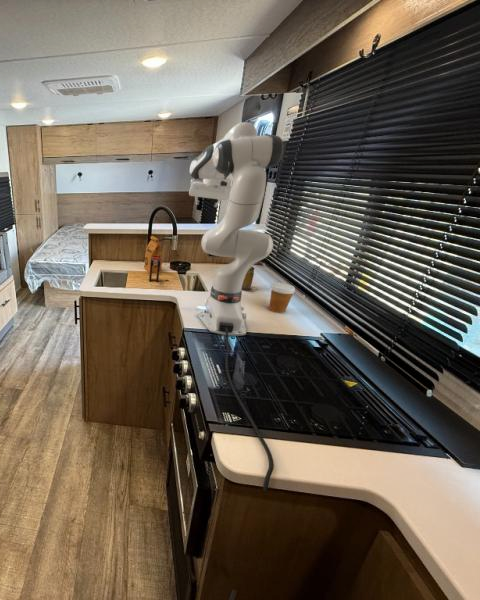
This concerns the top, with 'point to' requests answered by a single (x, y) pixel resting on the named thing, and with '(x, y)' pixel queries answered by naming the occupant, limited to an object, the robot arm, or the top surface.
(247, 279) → the condiment
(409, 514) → the top surface
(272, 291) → the disposable coffee cup
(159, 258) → the lever
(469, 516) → the top surface
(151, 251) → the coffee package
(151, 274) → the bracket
